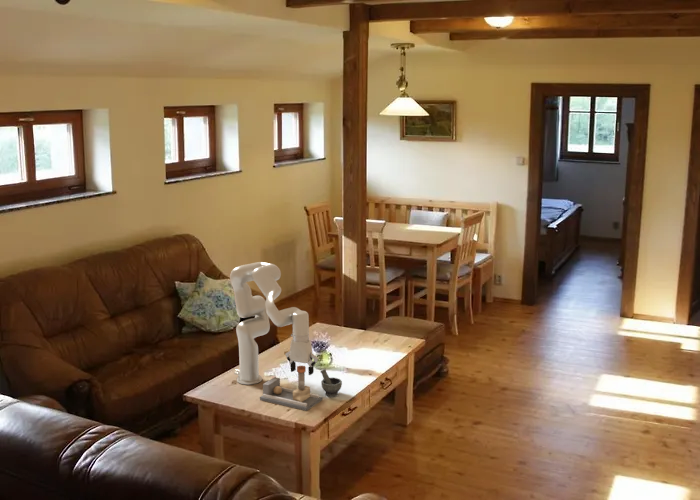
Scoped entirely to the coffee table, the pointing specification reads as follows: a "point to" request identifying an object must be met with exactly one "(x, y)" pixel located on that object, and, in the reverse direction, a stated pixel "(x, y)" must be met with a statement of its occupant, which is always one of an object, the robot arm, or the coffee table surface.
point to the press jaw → (301, 386)
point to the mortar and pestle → (330, 384)
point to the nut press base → (286, 396)
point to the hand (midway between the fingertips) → (302, 372)
